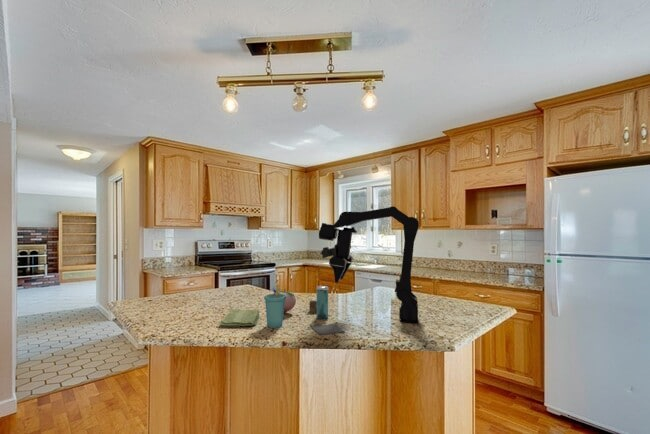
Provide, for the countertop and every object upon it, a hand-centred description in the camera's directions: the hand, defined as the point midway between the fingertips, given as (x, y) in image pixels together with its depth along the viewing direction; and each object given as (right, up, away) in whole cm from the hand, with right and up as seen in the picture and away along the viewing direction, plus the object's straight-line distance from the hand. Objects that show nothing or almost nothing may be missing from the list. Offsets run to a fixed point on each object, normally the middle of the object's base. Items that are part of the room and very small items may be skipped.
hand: (338, 280), depth 131 cm
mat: (-5, -13, -19) cm, 24 cm away
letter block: (-10, -14, +7) cm, 19 cm away
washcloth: (-37, -14, -9) cm, 41 cm away
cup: (-24, -13, -16) cm, 31 cm away
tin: (-7, -14, -4) cm, 16 cm away
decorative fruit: (-22, -14, +3) cm, 27 cm away
